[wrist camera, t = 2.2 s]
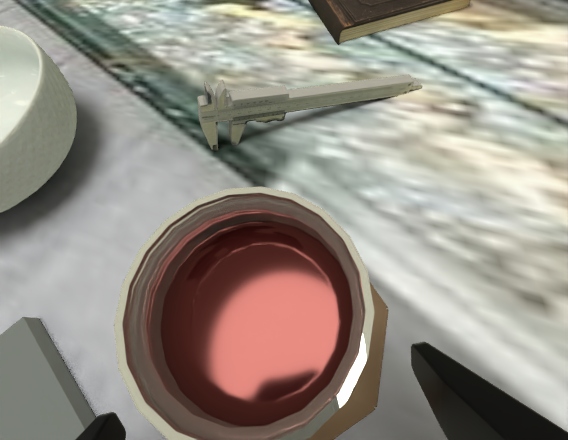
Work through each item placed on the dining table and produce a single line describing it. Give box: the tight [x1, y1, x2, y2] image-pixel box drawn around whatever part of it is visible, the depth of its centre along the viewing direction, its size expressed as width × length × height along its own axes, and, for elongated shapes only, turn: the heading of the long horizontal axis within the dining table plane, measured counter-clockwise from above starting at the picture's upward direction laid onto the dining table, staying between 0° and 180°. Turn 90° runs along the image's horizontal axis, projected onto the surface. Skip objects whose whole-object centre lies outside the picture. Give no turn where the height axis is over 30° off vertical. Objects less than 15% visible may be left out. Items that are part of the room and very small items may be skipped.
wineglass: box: [114, 187, 374, 440], centre depth 13 cm, size 7×7×12 cm
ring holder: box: [305, 281, 388, 440], centre depth 17 cm, size 12×12×2 cm
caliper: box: [198, 75, 422, 150], centre depth 23 cm, size 20×1×6 cm, turn 109°
